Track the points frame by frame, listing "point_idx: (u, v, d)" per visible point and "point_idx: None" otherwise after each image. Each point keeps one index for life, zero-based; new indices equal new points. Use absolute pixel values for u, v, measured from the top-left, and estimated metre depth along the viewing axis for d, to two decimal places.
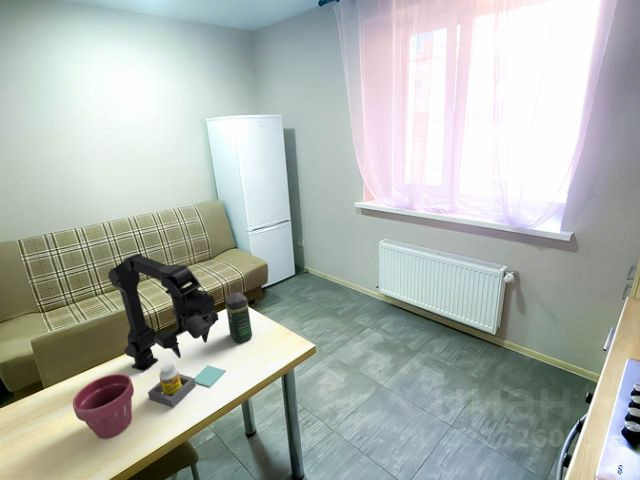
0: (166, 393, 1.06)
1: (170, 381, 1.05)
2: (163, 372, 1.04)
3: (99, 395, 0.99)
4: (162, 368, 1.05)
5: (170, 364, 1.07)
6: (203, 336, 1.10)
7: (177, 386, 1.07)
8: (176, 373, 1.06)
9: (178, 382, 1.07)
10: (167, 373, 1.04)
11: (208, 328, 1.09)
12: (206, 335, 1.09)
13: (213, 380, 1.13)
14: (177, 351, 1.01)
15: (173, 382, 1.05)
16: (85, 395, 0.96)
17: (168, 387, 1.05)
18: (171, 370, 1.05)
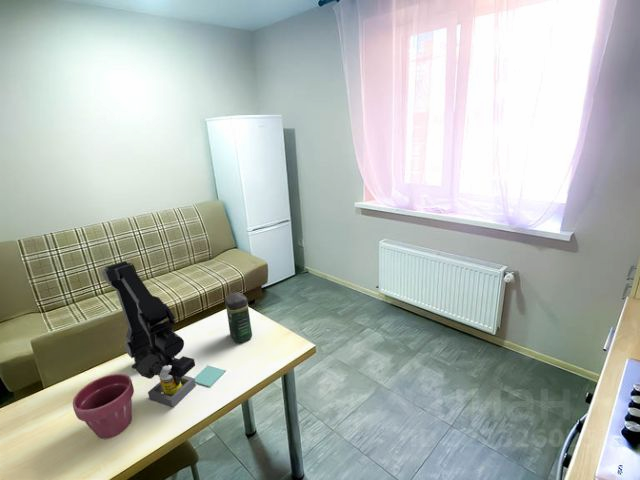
0: (166, 393, 1.06)
1: (170, 381, 1.05)
2: (163, 372, 1.04)
3: (99, 395, 0.99)
4: (162, 368, 1.05)
5: None
6: None
7: (177, 386, 1.07)
8: None
9: None
10: (167, 373, 1.04)
11: (174, 375, 1.03)
12: (174, 380, 1.05)
13: (213, 380, 1.13)
14: (157, 374, 1.07)
15: (173, 382, 1.05)
16: (85, 395, 0.96)
17: (168, 387, 1.05)
18: None
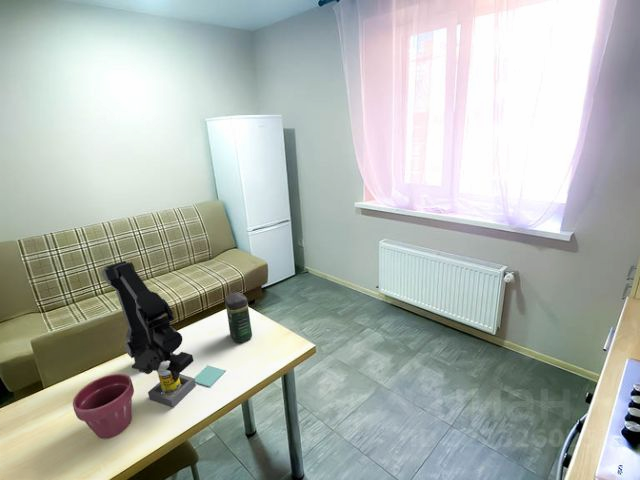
0: (164, 389, 1.05)
1: (169, 377, 1.04)
2: (161, 368, 1.04)
3: (99, 395, 0.99)
4: None
5: None
6: None
7: (176, 382, 1.07)
8: None
9: None
10: (165, 369, 1.04)
11: None
12: (172, 375, 1.04)
13: (213, 380, 1.13)
14: (156, 369, 1.07)
15: (171, 378, 1.05)
16: (85, 395, 0.96)
17: (167, 383, 1.05)
18: None
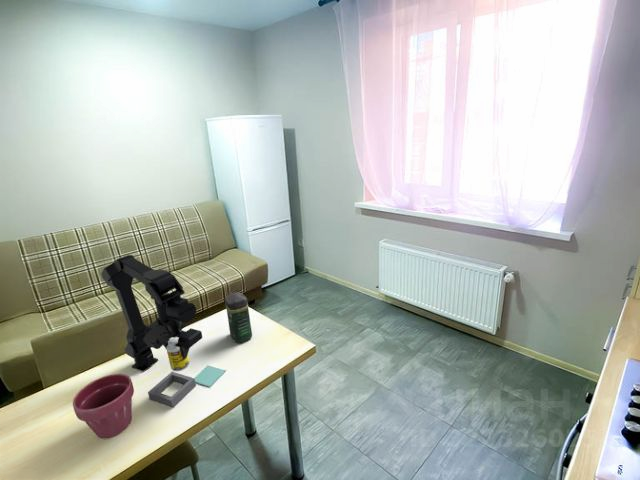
0: (173, 366, 1.05)
1: (178, 354, 1.04)
2: (170, 344, 1.03)
3: (99, 395, 0.99)
4: (169, 340, 1.04)
5: (177, 337, 1.06)
6: None
7: (185, 360, 1.06)
8: None
9: None
10: (174, 345, 1.03)
11: (181, 347, 1.02)
12: (181, 352, 1.04)
13: (213, 380, 1.13)
14: (165, 346, 1.06)
15: (180, 355, 1.04)
16: (85, 395, 0.96)
17: (175, 360, 1.04)
18: None
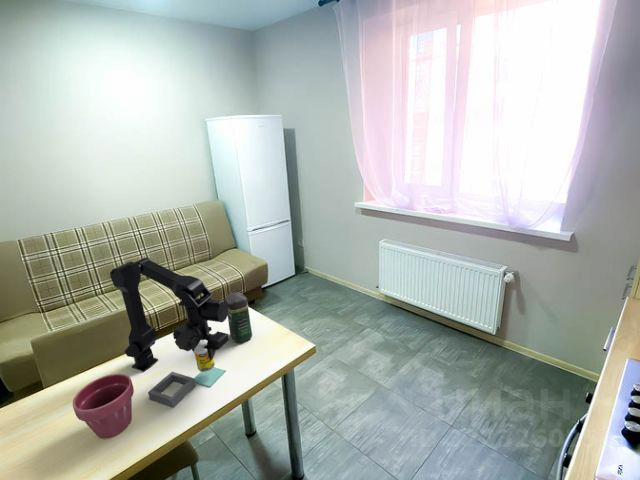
0: (200, 367, 1.11)
1: (205, 355, 1.10)
2: (198, 346, 1.09)
3: (99, 395, 0.99)
4: None
5: None
6: None
7: (211, 361, 1.12)
8: None
9: None
10: (202, 347, 1.09)
11: (209, 349, 1.08)
12: (209, 354, 1.10)
13: (213, 380, 1.13)
14: (192, 349, 1.12)
15: (207, 357, 1.10)
16: (85, 395, 0.96)
17: (203, 361, 1.10)
18: None
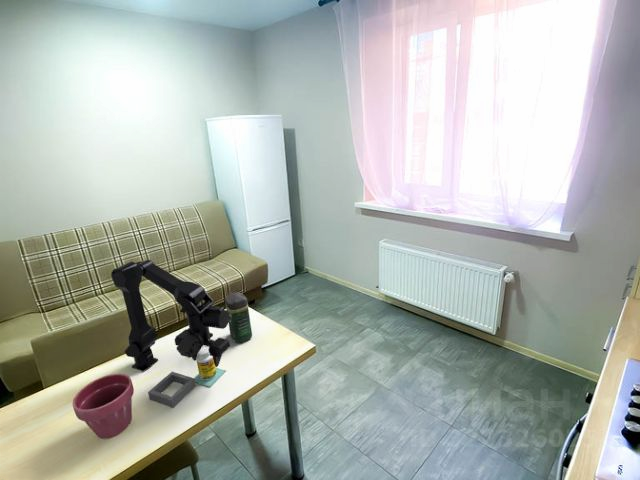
0: (202, 375, 1.12)
1: (207, 364, 1.11)
2: (200, 355, 1.10)
3: (99, 395, 0.99)
4: (199, 351, 1.11)
5: (206, 348, 1.13)
6: None
7: (213, 369, 1.13)
8: (212, 356, 1.12)
9: (213, 365, 1.13)
10: (204, 356, 1.10)
11: (214, 357, 1.08)
12: (214, 361, 1.10)
13: (213, 380, 1.13)
14: None
15: (209, 365, 1.11)
16: (85, 395, 0.96)
17: (205, 369, 1.11)
18: (207, 353, 1.11)
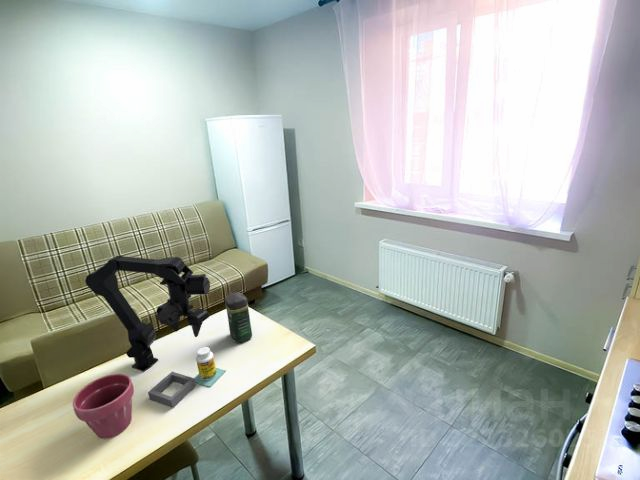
0: (202, 375, 1.12)
1: (207, 364, 1.11)
2: (200, 355, 1.10)
3: (99, 395, 0.99)
4: (199, 351, 1.11)
5: (206, 348, 1.13)
6: None
7: (213, 369, 1.13)
8: (212, 356, 1.12)
9: (213, 365, 1.13)
10: (204, 356, 1.10)
11: (193, 326, 1.13)
12: (193, 331, 1.15)
13: (213, 380, 1.13)
14: (171, 324, 1.19)
15: (209, 365, 1.11)
16: (85, 395, 0.96)
17: (205, 369, 1.11)
18: (207, 353, 1.11)
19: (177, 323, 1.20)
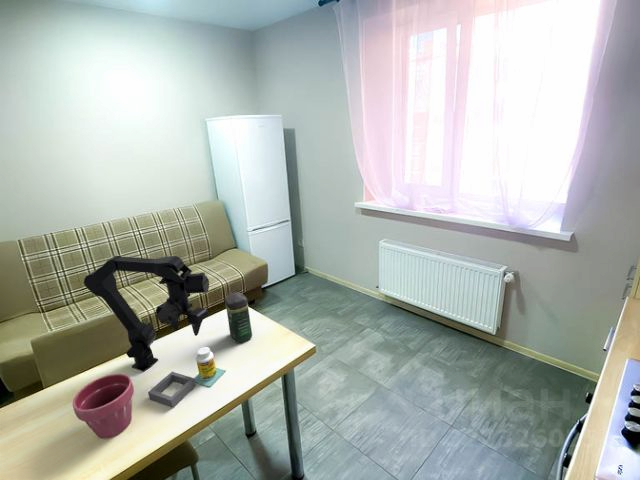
0: (202, 375, 1.12)
1: (207, 364, 1.11)
2: (200, 355, 1.10)
3: (99, 395, 0.99)
4: (199, 351, 1.11)
5: (206, 348, 1.13)
6: None
7: (213, 369, 1.13)
8: (212, 356, 1.12)
9: (213, 365, 1.13)
10: (204, 356, 1.10)
11: (193, 325, 1.14)
12: (193, 330, 1.15)
13: (213, 380, 1.13)
14: (171, 323, 1.19)
15: (209, 365, 1.11)
16: (85, 395, 0.96)
17: (205, 369, 1.11)
18: (207, 353, 1.11)
19: (177, 322, 1.20)
